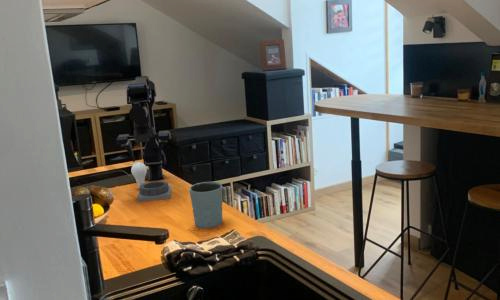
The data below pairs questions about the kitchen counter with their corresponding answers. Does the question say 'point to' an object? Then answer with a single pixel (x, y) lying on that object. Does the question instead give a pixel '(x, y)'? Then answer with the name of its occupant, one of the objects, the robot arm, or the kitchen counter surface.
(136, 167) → the lightbulb
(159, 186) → the bulb holder
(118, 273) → the kitchen counter surface
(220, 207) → the blue-grey cup
